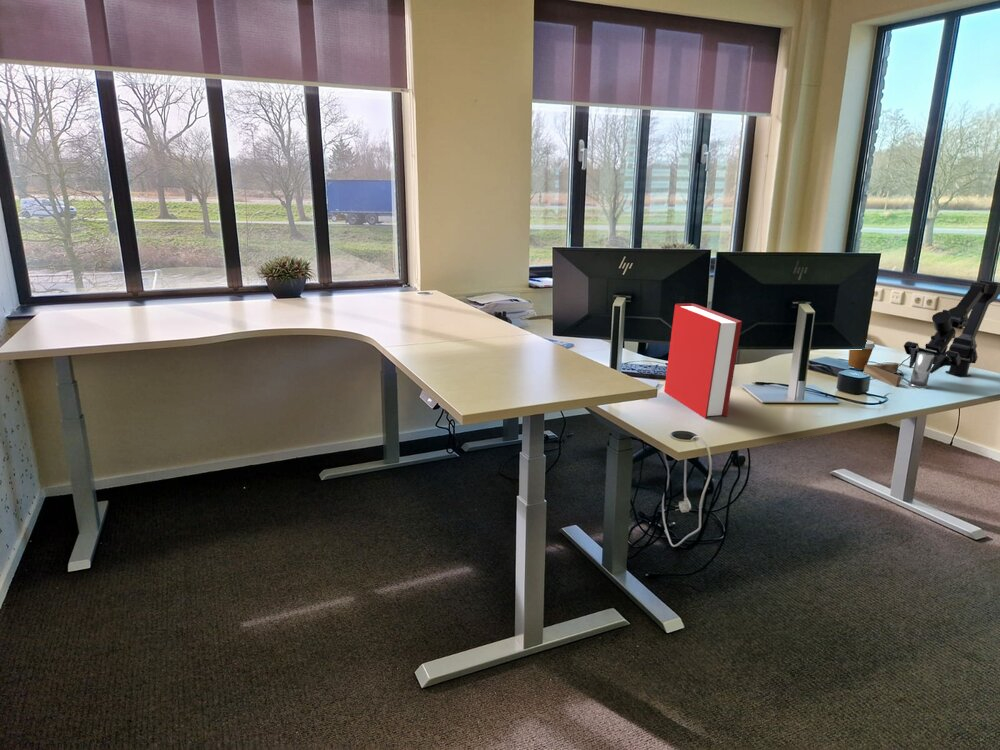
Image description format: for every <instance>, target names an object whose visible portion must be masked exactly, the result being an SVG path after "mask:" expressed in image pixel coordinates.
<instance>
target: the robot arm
mask: <svg viewBox="0 0 1000 750" xmlns="http://www.w3.org/2000/svg"><path fill="white" fill-rule="evenodd" d="M999 295H1000V282H998V281H990V280H983V279H981V280H980V281H974V282H972V283H971V284H970V287H969V290H967V292H966V293H965V294H964V295H963V297H962V299H961V300H960V301H959V303H957V305H956V306H955V307H951V308H949V309H943V310H942V311H939V312H938V311H937V312H936V313H935V314H933V315H932V317H931V319H932V324H933V327H934V330H935V333H934V335H931V336H930V340H929V342H928V343H925V346H924V347H921V346H919V343H918V342H914V341H910V340H909V341H906V342H905V343H904V345H903V349H904V351H905V354H906V355H908V356H910V358H909V365H908V367H909V369H912V367H914V365H915V361H916V357H917V353H918V352H927V353H931V354H934V355H935V356H934V360H933V363H932V367H931V371H930V374H933V373H935V372H937V371H938V370H939V369H941V368H943V367H945V366H947V367H949V370H946V371H945V372H944V373H947V374H950V375H953V376H956V377H958V376H959V377H960V378H962V376H964V377H971V376H972V374H969V369H970V366H971V364H976V362H978V361H977V360H978V358H979V357H978V353H977V345H978V344H977V342H976V337H977V334H978V332H979V330H980V327H981V324H982V322H983V320H984V317H985V315H986V313H987V311H988V308H989V306H990V304H992V303H993V302H994V301H997V299H998V297H999ZM968 315H969V316H968ZM955 329H956V330H962V329H963V330H962V333H961V334H960V335H958V337H956V334H957V333H956V330H955ZM952 339H953V340H952ZM951 341H952V343H951ZM950 343H951V344H950ZM949 344H950V345H949ZM948 348H949V349H948Z"/></svg>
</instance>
